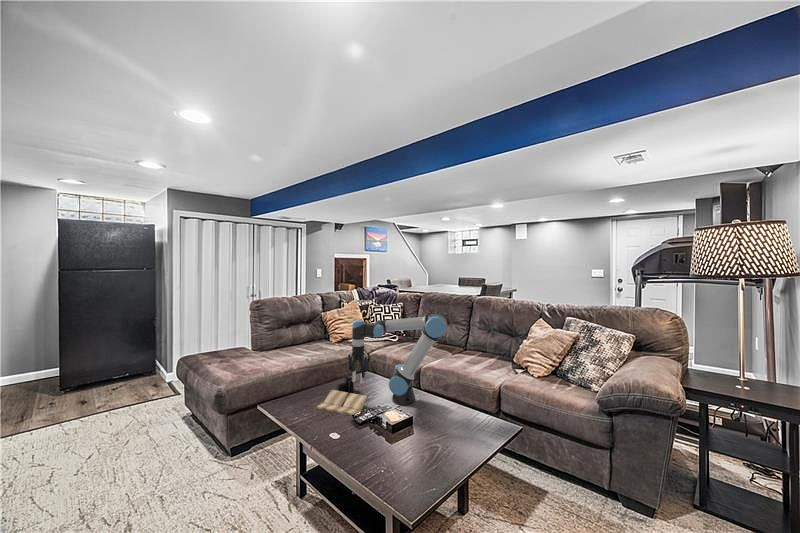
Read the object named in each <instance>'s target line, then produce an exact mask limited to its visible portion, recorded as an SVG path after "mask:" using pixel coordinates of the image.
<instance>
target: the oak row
mask: <svg viewBox="0 0 800 533" xmlns="http://www.w3.org/2000/svg"><path fill="white" fill-rule="evenodd" d="M316 409H317V410H322V411H326V412H330V413H331V412H332V413H336V414H340V415H346V416H351V417H353V416H352V415H354V414H357V413H359V412H361V411H363V409H362V410H359V409H354V408H349V407H344V406H343V405H342V406H338V405H333V404H328V403H324V401H322V402H321V403H320V404H319V403H318V405H316Z"/></svg>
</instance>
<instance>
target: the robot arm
mask: <svg viewBox="0 0 800 533" xmlns="http://www.w3.org/2000/svg"><path fill="white" fill-rule="evenodd" d="M447 327H448V320H447V318H446V316H444V315H443V314H441V313H439V312H437V313H431V314H424V316H421V317H419V316H418V317H417V316H416V317H407V318H397V319H396V318H395V319H386V320H385V319H384V320H382V319H378V320H376V321H375V322H374V323H371V324H370V323H366V322H365V321H364V320H362V319H357V320H353V321H352V328H351V332H352V334H351V335H352V337H351V339H352V341H351V345H352V346H351V348H352V349H351V351H352V352H351V353H348V355H347V357H348V371H350V372H351V376H350V377H352V382H353V383H354V382H356V381H357V380H356V379H357V378H356V374H357V370H356V365H357V361H358V362H359V366H360V371H361V372H360V382H359V383H360V384H363V383H364V381H365V380H364V378H365V377H366V376H365V373H367V372H368V371H369V370H368V368H369V365H368V364H369V363H368V362H369V355H365V337H370V338H383V336H384V333H389V332H398V331H401V332H402V331H411V330H412V331H413V330H421V336H420V337H419V339H418V340H417V342H416V343H415V345H414V346H413V348H412V350H411V352H409V354H408V356H407V357H406V359H405V361H404V363H403V364H396V365H395V367H394V374H393V375H392V377H391V378H390V380H389V381H388V388H389V391H391V393H392V396H391V401H392V403H394V404H396V405H398V406H399V405H400V406H409V405H413V404H414V403H415V402H416V394H415V391H414V388H413V387H414V384H413V383H414V382H413V381H414V380H415V373H416V372H417V370H418V369H419V367H420V365H421V364H422V363H423V361H424V359H425V357H426V356H427V354H428V353H429V352H430V350H431V349H432V347H433V345H434V344H435V343H438V342H439V341H440V339H441V337H443V335H444V334H445V333H446V331H447Z"/></svg>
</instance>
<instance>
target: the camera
mask: <svg viewBox="0 0 800 533" xmlns="http://www.w3.org/2000/svg"><path fill="white" fill-rule="evenodd" d="M352 380H353V376H349V375H344V377H343V382H341V383H337V384H336V390H337V391H342V392H348V393H349V394H350V393H353V394H355V393H354V389H355V388H354V385H355V384H354V382H352ZM349 394H348V395H349Z"/></svg>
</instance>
